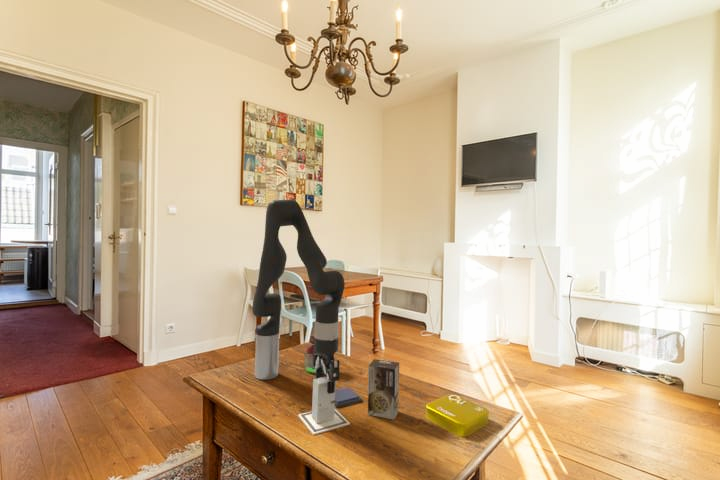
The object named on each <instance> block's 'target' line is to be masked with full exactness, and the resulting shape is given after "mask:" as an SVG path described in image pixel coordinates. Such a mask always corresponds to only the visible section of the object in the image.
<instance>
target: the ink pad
mask: <svg viewBox="0 0 720 480" xmlns="http://www.w3.org/2000/svg"><path fill="white" fill-rule="evenodd" d="M361 402H363V398H362V397H361V396H359V394H357V393H356V392H355V391H354V390H352V389H351V388H350V387H342V388H338V389H335V409H338V408H340V407H344V406H349V405H352V404H357V403H361Z"/></svg>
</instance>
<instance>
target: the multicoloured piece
mask: <svg viewBox="0 0 720 480" xmlns="http://www.w3.org/2000/svg"><path fill="white" fill-rule="evenodd" d="M313 349H314V332H313V333H310V344H309V345H308V346H307V347H306V349H305V350H306V351H305V352H303V354H304V366H305V370H306V372H307V373H310V374H315V375H316V370H315V366H314V367H313ZM316 361H317V359H316ZM322 370H323V374H325V373H324V369H322ZM328 370H330V369H328Z"/></svg>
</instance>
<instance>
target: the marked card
mask: <svg viewBox="0 0 720 480" xmlns="http://www.w3.org/2000/svg"><path fill="white" fill-rule="evenodd" d="M297 416H298V418H299V419H300V420H301V422H302V423H303V424H304V425H305V427H306V428H307V429H308V431H309V432H310V433H311V434H312V435H313V436H314V435H315V436H316V435H318V434H322V433H325V432H328V431H332V430H336V429H338V428H343V427H346V426H348V425H351V423H350V422H349V421H348V420H347V418H345V417H344V415H342V414H341V413H340V411H338V409H337V408H335V412H334V419H333V420H330V421H326V422H322V423H318V424H317V423H316V422H315V421H314V420H313V418H312V410H311V411H307V412H304V413H299V414H298V415H297Z"/></svg>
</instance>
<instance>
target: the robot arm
mask: <svg viewBox="0 0 720 480" xmlns="http://www.w3.org/2000/svg"><path fill="white" fill-rule="evenodd" d="M265 213H266V214H265V226H264V228H265V229H264V239H263V246H262V247H263V248H262V251H261V257H260V262H259V271H258V279H257V284H256V288H255V293H254V296H253V301H252V314H253V316H255V318H267V317H269V319H267V320H266V321H264V322H262V323H260V324H257V326H255V327H256V328H255V351H254V352H255V355H254V356H255V357H254V378H256V379H257V380H262V381H263V380H271V379H275V378H276V377H278V376H279V361H280V359H279V355H280V327H281V310H282V297H281V295H280V294H279V293H277V292H276V293H273V292H272V293H271V292H270V293H268V291H269V289H271V287H272V286H273V285H274V284H275V283H277V282H278V280H279V279H280V278H281V277H282V276H283V274H284V272H285V269H286V268H285V267H286V265H287V264H286V263H287V257H288V255H287V253H286V249H285V248H284V246H283V245H282V243H281V241H280V238H279V233H280V232H279V231H280V228H281V227H288V226H289V227H291V226H293V227H294V229H295V230H296V232H297V241H296V251H297V254H298V257H299V258H300V261H301V262H302V263H303V266H304V267H305V269H306V273H307V276H308V281H309V283H310V287H311V289H312V290H313V292H314V293H316V294H317V295H319V296H324V298H323V299H322V300H320V301H319V302H318V303H316V305H315V324H314V332H313V333H314V344H313V345H314V349H313V367H314V366H315V370H316V374H315V379H316V378H320V377H324V375H326V377H327V379H328V381H327V393H328V394H331V393H334V392H335V390H336V384H335V381H336V382H338V381H340V359H335V354H336V353H337V352H338V350H339V338H340V337H339V335H340V333H339V330H340V329H339V328H340V326H339V308H340V304H341V303H342V302H341V301H342V297H343V294H344V290H345V279H344V275H343V274H342V273H341V272H340V271H338V270H328V271H324V269H325V267H326V266H327V264H328V261H327V258H326V256H325V255H324V252H323V251H322V249H321V248H320V246H319V245H318V243H317V241H316V240H315V238H314V235H313V234H312V231H311V228H310V226H309V224H308V221H307V218H306V216H305V214H304V212H303V209H302V207H301V206H300V204H299V202H298V201H296V200H295V199H274V200H271V201H270V202H269V203H268V204H267V207H266V211H265ZM316 359H317V361H316ZM322 369H324V373H323V370H322ZM328 369H330V370H328Z"/></svg>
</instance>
